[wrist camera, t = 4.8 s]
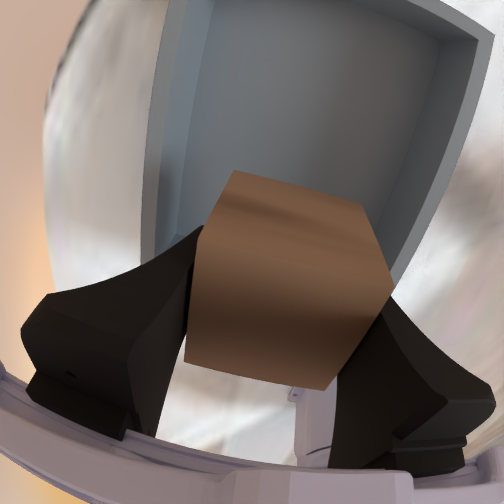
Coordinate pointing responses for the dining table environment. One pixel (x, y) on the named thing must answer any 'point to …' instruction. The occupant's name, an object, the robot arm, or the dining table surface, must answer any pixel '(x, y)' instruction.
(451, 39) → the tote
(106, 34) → the dining table surface
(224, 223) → the walnut block
